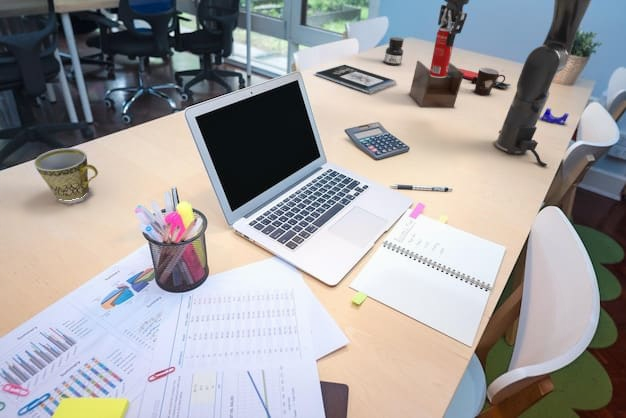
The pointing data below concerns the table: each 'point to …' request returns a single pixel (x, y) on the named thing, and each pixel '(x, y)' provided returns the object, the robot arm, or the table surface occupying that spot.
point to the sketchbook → (356, 78)
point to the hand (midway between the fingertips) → (444, 43)
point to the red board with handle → (474, 76)
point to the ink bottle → (394, 51)
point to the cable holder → (551, 118)
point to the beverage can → (441, 55)
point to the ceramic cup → (66, 173)
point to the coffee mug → (486, 81)
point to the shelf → (435, 87)
